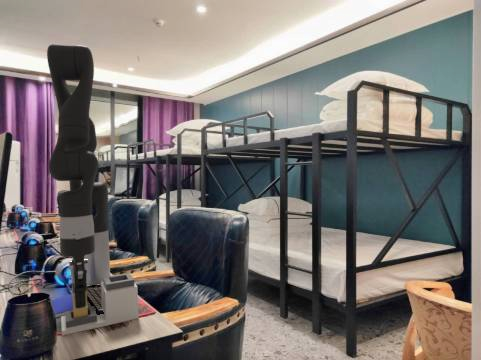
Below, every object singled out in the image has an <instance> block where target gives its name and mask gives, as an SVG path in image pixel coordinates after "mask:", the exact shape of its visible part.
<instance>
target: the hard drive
mask: <svg viewBox="0 0 481 360" xmlns="http://www.w3.org/2000/svg"><path fill="white" fill-rule="evenodd" d="M50 299H51V301H52V305H53V308H54V312H55V316H56V317H55V318H59V317H62V316H65V311H71V310H73V293H70V294H65V295H63V296H62V295H61V296H57V297H53V298H50Z"/></svg>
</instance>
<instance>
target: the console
mask: <svg viewBox="0 0 481 360" xmlns="http://www.w3.org/2000/svg"><path fill="white" fill-rule="evenodd" d="M138 292H139V291H138V286H137V284H136V283H135V278H134V277H133V276H132V274H131V272H128V273H120V274H115V275H114V274H113V275H110V276H107V277H103V282H101V285H100V294H101V295H100V296H101V297H100V298H101V308H102V309H103V312H104V314H100V315H97V314H96V311H95V310H96V308H95V305H93V306H92V305H91V306H88V307H87V308H88V315H87V316H82V317H77V318H74V315H73V310H71V311H65V315H63V316H60V319H61V320H60V325H61V326H60V327H61V336H66V335H71V334H76V333H80V332H84V331H89V330H93V329H97V328H102V327H106V326H110V325H116V324H119V323H123V322H124V323H125V322H129V321H134V320H137V319H139V317H140V316H139V298H138V297H139V296H138V295H139V294H138ZM89 314H90V315H89Z"/></svg>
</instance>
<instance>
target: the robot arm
mask: <svg viewBox="0 0 481 360" xmlns="http://www.w3.org/2000/svg"><path fill="white" fill-rule="evenodd" d="M46 50H47V51H46V56H47V57H46V58H47V66H48V68H49V74H50V78H51V83H52V86H53V91H54V96H55V99H56V104H57V110H58V118H57V119H58V120H57V121H58V124H57V125H58V126H57V132H58V133H57V134H58V135H57V139H56V143H55V146H54V149H53V152H52V154H51V157H50V160H49V161H48V162H49V163H48V171H49V174H50V176H51V177H52V178H53V180H55V181H59V182H68V181H69V190H67V191H63V192H61V193H60V195H59V201H58V203H59V224H58V225H59V229H58V230H59V248H60V253H59V254H60V255H61V256H62V257H63V258H70V257H71V258H72V259H71V260H70V261H69V262H68V264H69V265H68V266H69V271H70V278H71V284H72V283H74V292H75V306H76V308H83V307H85V306H86V297H85V291H86V289H87V290H88V287H86V282H87V285H91V286H92V285H97V284H101V282H103V277H107V276H111V265H110V262H111V261H110V260H111V259H110V241H109V240H110V239H109V237H110V236H109V214H108V213H109V212H108V211H109V210H108V209H109V208H108V206H109V191H108V186H107V184H106V183H105V182H98V181H97V182H95V181H96V177H97V174H98V171H99V160H98V157H97V156H96V154H95V152H96V150H97V145H98V143H97V140H98V139H97V133H96V126H95V123H94V121H93V120H92V118H91V117H90V107H91V101H92V92H93V85H94V77H95V65H94V57H93V54H92V51H91V49H90V47H88V46H85V45H79V44H50V45H48V47H47V49H46ZM67 81H76V82H77V81H78V84H77V87H76V88H75V89H74V91H73V92H72V93H71V91H70V89H69V87H68V84H67ZM94 211H96V214H95V215H94V216H93V212H94ZM81 284H83V286H81V287H77V285H81Z"/></svg>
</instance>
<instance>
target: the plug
mask: <svg viewBox="0 0 481 360" xmlns="http://www.w3.org/2000/svg"><path fill="white" fill-rule="evenodd" d="M81 286H83V284H81V285H77V287H81ZM86 287H87V282H86ZM71 290H72V294H73V315H74V318H77V317H82V316H87V315H88V308H87V305H88V287H87V289H86V291H85V297H86V306H85V307H83V308H76V306H75V292H74V283H72V282H71Z"/></svg>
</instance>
